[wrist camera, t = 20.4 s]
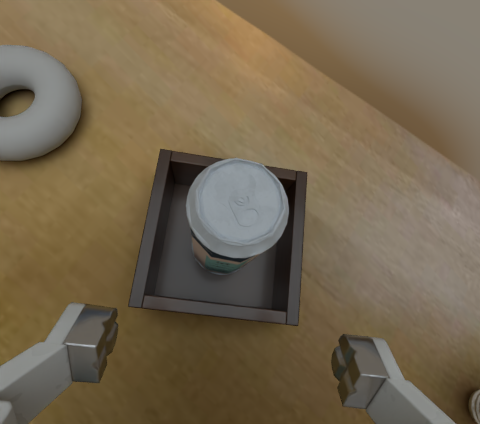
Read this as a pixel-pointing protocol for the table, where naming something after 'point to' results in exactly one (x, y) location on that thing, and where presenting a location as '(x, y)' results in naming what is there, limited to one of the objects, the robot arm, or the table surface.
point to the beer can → (235, 214)
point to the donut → (37, 103)
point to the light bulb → (475, 406)
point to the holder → (202, 281)
